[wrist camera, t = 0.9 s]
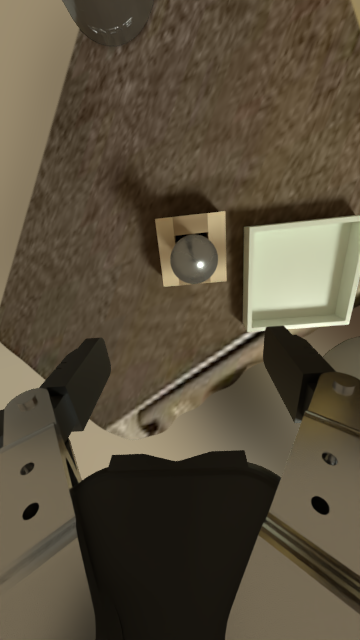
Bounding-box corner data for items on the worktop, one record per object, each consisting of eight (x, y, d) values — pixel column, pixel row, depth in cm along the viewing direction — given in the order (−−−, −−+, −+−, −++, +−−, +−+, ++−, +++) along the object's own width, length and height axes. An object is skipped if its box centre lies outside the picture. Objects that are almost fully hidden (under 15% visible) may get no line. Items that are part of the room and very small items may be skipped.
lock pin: (174, 232, 30) (167, 237, 20) (207, 229, 30) (217, 232, 20) (177, 265, 32) (172, 285, 22) (208, 262, 31) (218, 281, 21)
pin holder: (159, 219, 29) (154, 218, 26) (220, 212, 29) (225, 211, 25) (166, 279, 32) (163, 286, 29) (221, 274, 32) (226, 281, 28)
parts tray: (243, 226, 29) (249, 227, 27) (355, 215, 28) (373, 214, 26) (242, 323, 35) (247, 332, 32) (335, 316, 34) (349, 324, 31)
